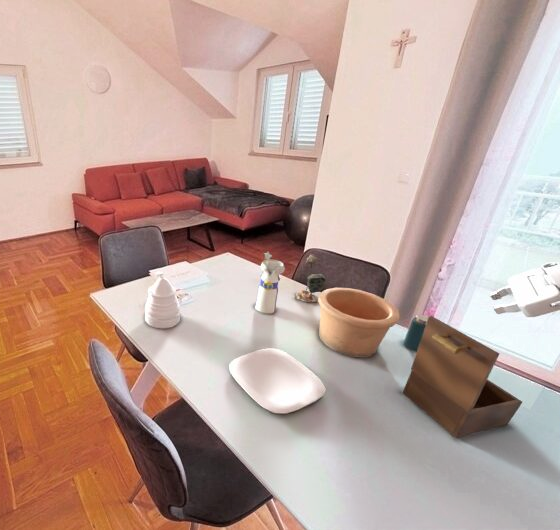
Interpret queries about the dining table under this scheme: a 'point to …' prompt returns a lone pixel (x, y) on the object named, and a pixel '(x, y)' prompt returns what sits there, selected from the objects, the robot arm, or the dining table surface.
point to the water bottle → (268, 285)
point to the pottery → (354, 320)
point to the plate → (276, 380)
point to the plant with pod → (312, 284)
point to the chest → (458, 422)
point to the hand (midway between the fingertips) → (492, 303)
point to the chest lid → (453, 363)
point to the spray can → (415, 332)
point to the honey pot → (162, 304)
